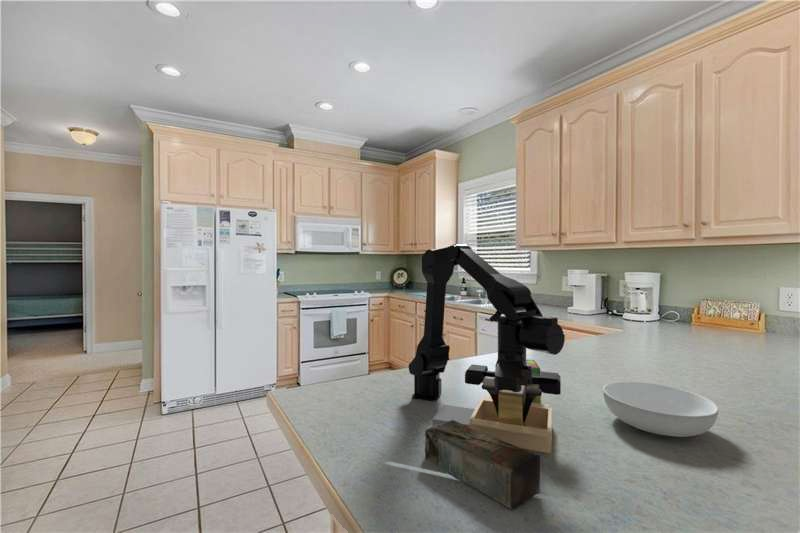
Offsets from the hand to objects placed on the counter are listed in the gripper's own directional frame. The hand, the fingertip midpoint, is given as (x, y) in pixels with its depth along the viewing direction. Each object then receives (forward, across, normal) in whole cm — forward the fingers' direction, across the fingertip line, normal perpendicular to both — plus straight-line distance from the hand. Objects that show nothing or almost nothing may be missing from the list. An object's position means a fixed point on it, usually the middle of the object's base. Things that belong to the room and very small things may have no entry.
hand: (511, 419), depth 79 cm
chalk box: (+4, 0, +16) cm, 16 cm away
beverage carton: (+4, -4, -17) cm, 18 cm away
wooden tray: (+4, 0, +1) cm, 4 cm away
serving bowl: (+4, +29, +17) cm, 34 cm away
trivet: (+4, -12, +2) cm, 13 cm away
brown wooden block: (+3, 0, +1) cm, 3 cm away
